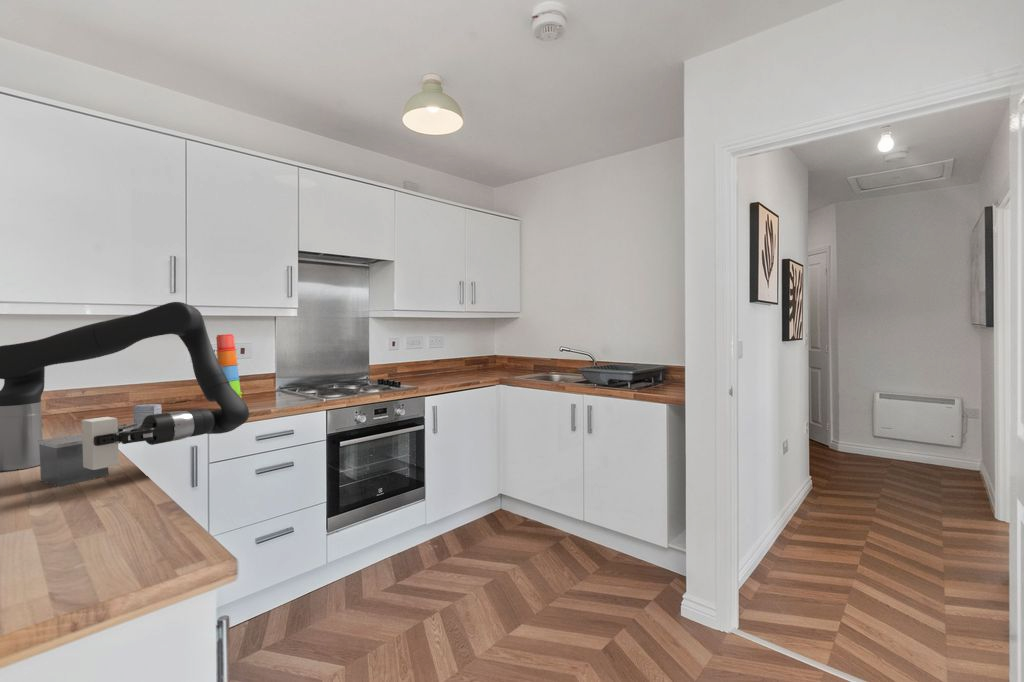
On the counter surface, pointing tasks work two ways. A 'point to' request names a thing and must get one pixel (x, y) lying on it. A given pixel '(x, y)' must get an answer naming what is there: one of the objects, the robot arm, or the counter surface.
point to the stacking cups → (228, 360)
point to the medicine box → (145, 411)
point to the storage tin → (65, 461)
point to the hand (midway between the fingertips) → (89, 439)
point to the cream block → (104, 453)
